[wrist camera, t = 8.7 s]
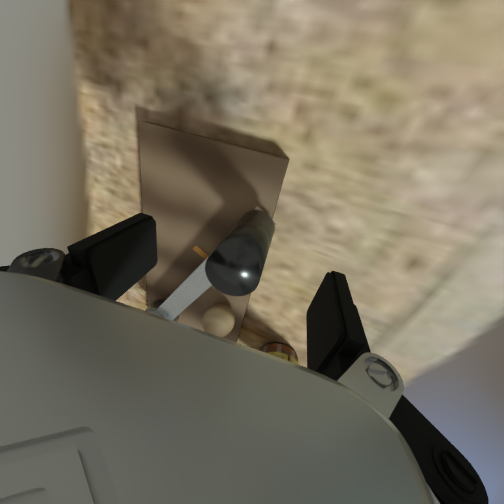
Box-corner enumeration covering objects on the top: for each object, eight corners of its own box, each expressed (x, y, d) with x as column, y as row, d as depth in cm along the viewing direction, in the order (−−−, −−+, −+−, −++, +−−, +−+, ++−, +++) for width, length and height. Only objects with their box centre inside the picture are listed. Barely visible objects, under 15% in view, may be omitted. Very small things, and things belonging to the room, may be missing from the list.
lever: (169, 327, 30) (120, 396, 22) (145, 309, 30) (85, 373, 21) (288, 225, 19) (279, 284, 11) (255, 191, 19) (219, 228, 10)
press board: (152, 122, 20) (100, 114, 15) (289, 158, 19) (285, 163, 14) (156, 313, 33) (129, 344, 28) (237, 340, 32) (225, 377, 27)
